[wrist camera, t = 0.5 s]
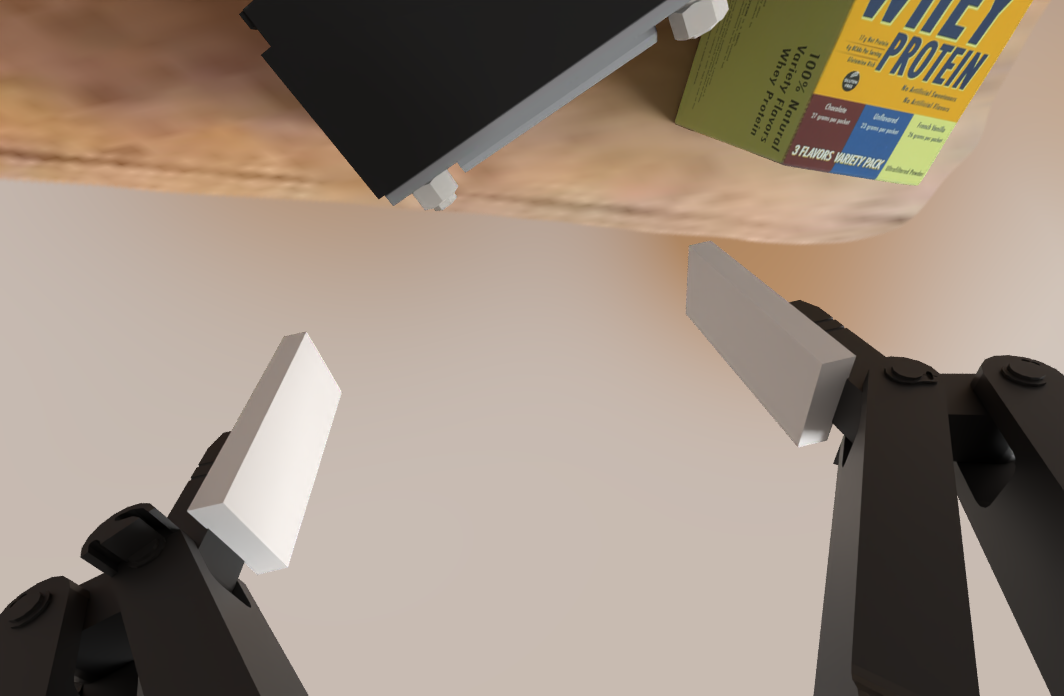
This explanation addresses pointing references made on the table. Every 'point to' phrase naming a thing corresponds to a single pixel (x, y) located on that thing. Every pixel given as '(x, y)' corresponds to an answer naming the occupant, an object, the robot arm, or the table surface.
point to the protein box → (845, 80)
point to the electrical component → (450, 73)
